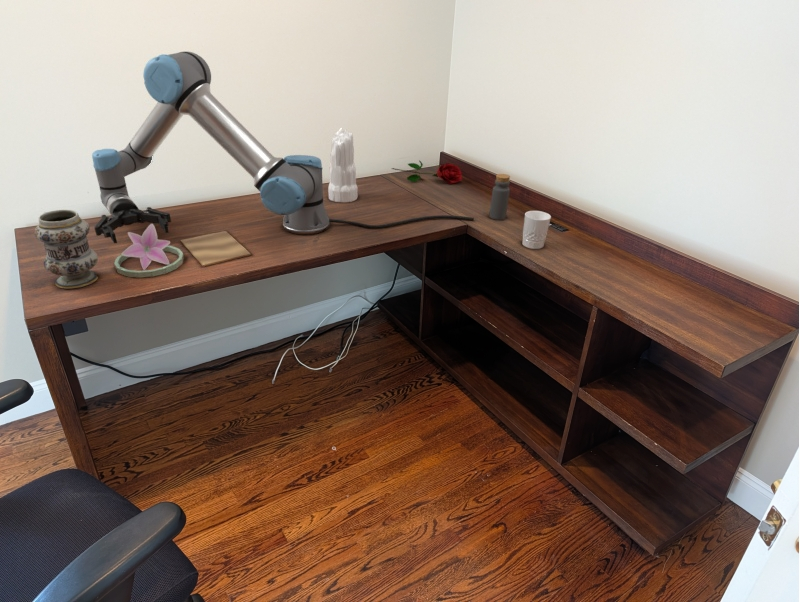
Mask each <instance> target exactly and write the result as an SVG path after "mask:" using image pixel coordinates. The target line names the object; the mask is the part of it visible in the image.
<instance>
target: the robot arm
mask: <svg viewBox="0 0 800 602" xmlns="http://www.w3.org/2000/svg"><path fill="white" fill-rule="evenodd" d="M142 74H143V81H144V82H143V83H144V86H145V90H146V91H147V93H148V94H149V96H150V97H151V98H152V100H155V101H156V102H157V103H156V104H155V106H154V107H153V108H152V109H151V111H150V112H149V113H148V115H147V117H146V118H145V119H144V121H143V123H142V124H141V125H140V126H139V128H138V130H137V131H136V132H135V134H134V135H133V137H132V138H131V139H130V141H129V142H128V144H127V145H126V147H125V148H124V149H121V150H117V149H115V148H102V149H97V150H95V151H93V152H92V154H91V158H92V163H93V165H92V166H93V169H94V171H95V176H96V179H97V184H98V186H99V191H100V200H101V203H102V205H103V206H104V207H105V208H106V210H107V211H108V212H109V214H110V216H109V215H107V214H102V215H101V218H100V219H99V220H98V222H97V223H96V224H95V225H94V227H93V229H94V231H95V236H97V237H98V236H102V235H103V236H104V238H105V239H107V238H110V239H111V241H112V243H114V244H118V240H117V236H116V233H115V231H116V229H117V230H118V228H122V227H123V226H131V225H133V224H139V223H140V224H144V223H150V224H156V225H157V224H158V225H159V227H160V228H161V229H162V231H163V232H164V233H165V234H168V233H169V232H170V231H169V223H171V222H172V218H171V214H170V213H169V212H164V211H162V210H158V209H154V208H152V207H150V206H148V207H146V210H142V209H140V208H139V207H138V206H137V204H136V203H135V202H134V200H132V198H131V197H130V196H129V191H128V188H127V181H126V179H125V177H127V176H129V175H132V174H135V173H136V172H138V171H140V170H144V169H146V168H147V167H149V166H150V165H151V164H152V163H151V160H152V156H153V157H154V154H155V153H156V152H157V151H158V149H159V148H160V147H161V145H162V144H163V142H164V141H165V140H166V139H167V137H168V136H169V134H170V133H171V132H172V130H173V129H174V128H175V126H176V125H177V124H178V123H179V121H180V120H181V118H182V117H183V116H187V115H188V116H189V117H190V118H191V119H192V120H193V121H194V122H195V123H196V124H197V125H198V126H199V127H201V129H203V130H204V131H205V132H206V133H207V134H208V135H209V137H210V138H212V139H213V140H214V141H215V142H216V143H217V144H218V146H220V147H221V148H222V149H223V150H224V151H225V152H226V153H227V154H228V155H229V156H230V157H231V158H232V159H233V160H235V162H236V163H237V164H238V165H239V166H240V167H241V168H243V170H245V172H247V174H249V176H250V177H251V178H252V179H253V186H254V188H255V189H257V190H258V192H259V196H260V200H261V203H262V205H263V206H264V207H265V208H266V209H267V210H268V211H270V213H273V214H276V215H279V216H283V219H282V228H283V230H284V231H286V232H287V233H290V234H294V235H301V236H305V235H306V236H307V235H316V234H319V233H322V232H325V231H326V230H328V229H329V228H330V225H331V223H334V224H335V223H337V224H344V225H352V226H359V227H362V228H367V229H381V228H382V229H383V228H388V227H394V226H399V225H404V224H407V223H412V222H413V223H414V222H418V221H419V222H420V221H425V220H432V219H454V220H455V219H457V220H466V221H475V217H471V216H464V215H446V214H445V215H442V214H441V215H427V216H420V217H416V218H408V219H405V220H400V221H395V222H390V223H384V224H365V223H361V222H358V221H351V220H343V219H335V218H330V217H329V214H328V212H327V209H326V207H325V204H324V188H323V187H324V186H323V185H324V184H323V183H324V182H323V165H322V160H321V158H320V157H317V156H314V155H307V154H292V155H290V154H289V155H286V156H285V157H284V158H283V157H275V156H274V155H273V154H272V153H271V152H270V151H269V150H268V149H267V148H266V147H265V146H264V145H263V144H262V143H261V142H260V141H259V140H258V139H257V138H256V137H255V136H254V135H253V134H252V133H251V132H250V131H249V130H248V129H247V127H245V126H244V125H243V124H242V123H241V122H240V121H239V120H238V119H237V118H236V117H235V116H234V115H233V114H232V113H231V112H230V111H229V110H228V109H227V108H226V107H225V106H224V105H223V104H222V103H221V102H220V101H219V100H218V99H217V98H216V97H215V96H214V95H213V94H212V92H211V83H212V71H211V69H210V66H209V64H208V63H207V61H206V60H205V59H204V58H203V57H202V56H200V55H199V54H198V53H195V52H193V51H180V52H175V53H169V54H162V53H161V54H159V55H158V56H154V57H152V58H150V59H149V60H148V62H147V63H146V64H145V66H144V69H143V73H142ZM150 163H151V164H150ZM149 164H150V165H149Z"/></svg>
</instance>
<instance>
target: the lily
mask: <svg viewBox="0 0 800 602" xmlns="http://www.w3.org/2000/svg"><path fill="white" fill-rule="evenodd" d="M127 235H128V237H129V239H130V240H131V242H132V244H131V245H129V246H128V247H126V248H125V249H124V250H123V251H122V252H121V254H122V255H123V256H128V257H129V258H139V261H140V265H141V268H142V271H145V270H147V269H148V267H149V266H150V264H151V263H152V261H154V262H156V263H159V264H163V265H166V266H167V265H170V260H169V258H168V256H167V254H166V253H165V251H163V250H162V249H164V248H165V247H166V246H170V244H171V241H170V240H166V239H158V233H157V230H156V226H155V225H154V223H150V224H149V225H148V226H147V227H146V229H145V230H144V231H143V232H142V235H141V234H138V233H135V232H132V231H128V232H127Z"/></svg>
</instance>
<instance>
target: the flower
mask: <svg viewBox="0 0 800 602" xmlns="http://www.w3.org/2000/svg"><path fill="white" fill-rule="evenodd" d="M418 161H419V163H420V164H418V163H414V162H411V163H407V165H408V166H409V167H410V168H412V169H414V170H415V171H413V170H405V169H398V168H394V167H393V168H391V170H395V171H402V172H406V173H407V172H408V173H413V174H411V175H408V176H407V177H406V179H407V180H408V181H409V182H412V183H416V182H418V181H419V179H420V180H423V178H422V177H421V175H420V174H422V175H431V177H435V178H439V179H441V180H442V181H444V182H446V183H447V184H449V185H453V184H457V183H459V182H460V181H462V180H463V177H462V176H463V175H462V170H461V168H460V167H459V166H457V165H455V164H452V163H449V162H448V163H445V164H444V163H443V164H441V165H439V167H438V169H437V170H436V173H433V172H432V173H431V172H419V171H417V170H422V168H423V167H424V163H423V162H422V161H421V160H418Z"/></svg>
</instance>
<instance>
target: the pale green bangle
mask: <svg viewBox="0 0 800 602" xmlns="http://www.w3.org/2000/svg"><path fill="white" fill-rule="evenodd" d="M162 250H163V251H164V252H166V253H167V252H168V253H172V254H175V255H177V256H178V258H177V259H176V260H175V261H174V262H172V263H169V265H167V264H166V265H165V266H162V267H158V268H153V269H150V270H149V269H145V270H134V269H127V268H124V267H122V266H121V264H122V263H123V262H124V261H126V260H127V259H128V258H130V257H128V256H123V255H122V253H121V254H119V255H118V256H117V257H115V260H114V262H113V264H114V269H115V270H116V272H117V273H118V274H120V275H122V276H125V277H129V278H136V279H137V278H138V279H139V278H153V277H156V276H161V275H165V274H168V273H170V272H173V271H175V270H177V269H178V268H179V267H181V266H182V265H183V263H184V260H185V256H184V252H183V251H182V249H180V248H179V247H176V246H174V245H168V246H166V247H165V248H164V249H162Z"/></svg>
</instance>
